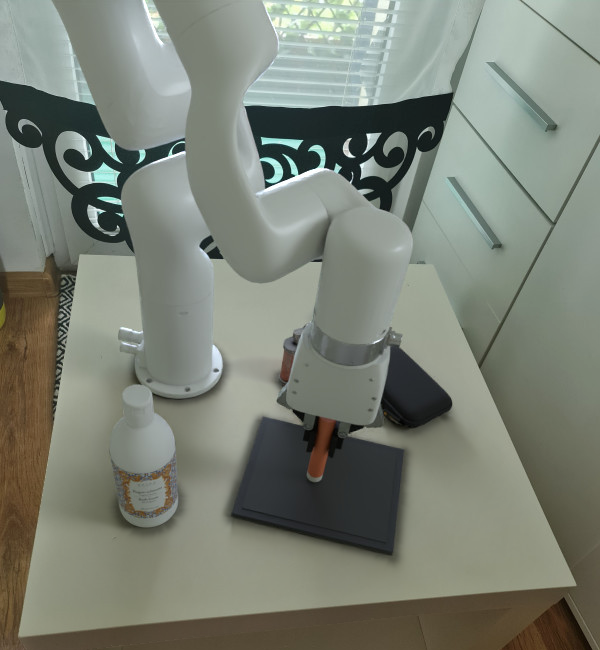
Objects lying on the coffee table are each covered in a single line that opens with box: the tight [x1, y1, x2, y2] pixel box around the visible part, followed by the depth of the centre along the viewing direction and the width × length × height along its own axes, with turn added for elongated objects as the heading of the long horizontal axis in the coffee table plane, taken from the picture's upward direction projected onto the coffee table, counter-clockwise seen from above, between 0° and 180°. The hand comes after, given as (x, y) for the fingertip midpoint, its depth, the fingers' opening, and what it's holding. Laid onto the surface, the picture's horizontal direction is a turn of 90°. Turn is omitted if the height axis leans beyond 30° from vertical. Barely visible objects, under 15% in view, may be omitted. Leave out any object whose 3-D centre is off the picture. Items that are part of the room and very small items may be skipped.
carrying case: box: [380, 346, 453, 429], centre depth 91 cm, size 11×3×15 cm
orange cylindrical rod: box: [307, 417, 337, 482], centre depth 75 cm, size 2×2×12 cm
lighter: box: [278, 323, 308, 387], centre depth 88 cm, size 8×3×10 cm, turn 114°
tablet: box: [231, 415, 405, 556], centre depth 80 cm, size 20×16×1 cm
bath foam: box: [108, 384, 179, 528], centre depth 67 cm, size 7×7×20 cm
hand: (321, 445), depth 74 cm, fingers closed on orange cylindrical rod, 2 cm apart
